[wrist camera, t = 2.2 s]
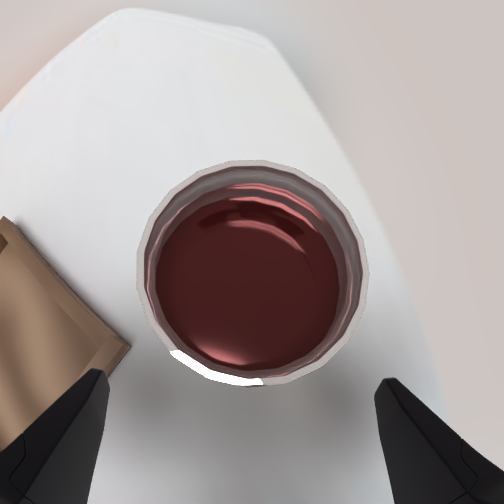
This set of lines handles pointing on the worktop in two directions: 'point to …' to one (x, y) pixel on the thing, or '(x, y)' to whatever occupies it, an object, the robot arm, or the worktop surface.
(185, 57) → the worktop surface
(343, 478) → the worktop surface
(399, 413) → the robot arm
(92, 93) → the worktop surface
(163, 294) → the wineglass
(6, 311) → the tray
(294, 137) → the worktop surface
